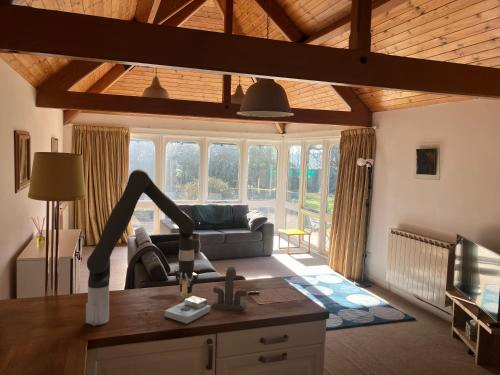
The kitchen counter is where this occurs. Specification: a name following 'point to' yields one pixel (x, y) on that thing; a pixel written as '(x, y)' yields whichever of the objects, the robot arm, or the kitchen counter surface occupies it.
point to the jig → (186, 312)
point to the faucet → (229, 293)
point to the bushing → (185, 289)
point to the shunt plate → (195, 301)
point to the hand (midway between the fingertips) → (185, 292)
